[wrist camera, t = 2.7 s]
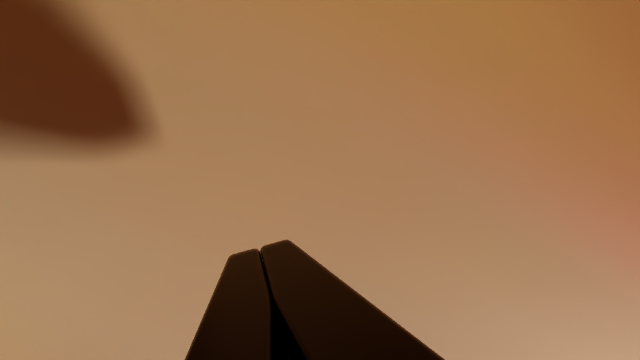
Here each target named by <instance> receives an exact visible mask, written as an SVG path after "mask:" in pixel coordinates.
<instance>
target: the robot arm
mask: <svg viewBox="0 0 640 360" xmlns="http://www.w3.org/2000/svg"><path fill="white" fill-rule="evenodd" d="M260 252H261V254H260ZM261 256H262V257H261ZM262 260H263V261H262ZM263 264H264V265H263ZM286 350H287V351H286ZM185 360H444V359H443V358H442V357H441V356H439V355H438V354H437V353H435V352H434V351H433V350H431V349H430V348H429V347H428V346H426V345H425V344H424V343H422V342H421V341H420V340H418V339H417V338H416V337H415V336H413V335H412V334H411V333H409V332H408V331H407V330H405V329H404V328H403V327H402V326H400V325H399V324H398V323H396V322H395V321H394V320H392V319H391V318H390V317H389V316H387V315H386V314H385V313H383V312H382V311H381V310H379V309H378V308H377V307H376V306H374V305H373V304H372V303H370V302H369V301H368V300H366V299H365V298H364V297H363V296H361V295H360V294H359V293H357V292H356V291H355V290H353V289H352V288H351V287H350V286H348V285H347V284H346V283H344V282H343V281H342V280H340V279H339V278H338V277H337V276H335V275H334V274H333V273H331V272H330V271H329V270H327V269H326V268H325V267H324V266H322V265H321V264H320V263H318V262H317V261H316V260H314V259H313V258H312V257H311V256H309V255H308V254H307V253H305V252H304V251H303V250H301V249H300V248H299V247H298V246H296V245H295V244H294V243H292V242H291V241H289V240H283V241H279V242H276V243H272V244H269V245H265V246H263V247H262V248H261V250H260V251H259V250H258V249H251V250H247V251H244V252H240V253H236V254H233V255H231V256H230V257H229V258H228V260H227V262H226V265H225V267H224V269H223V272H222V274H221V276H220V279H219V281H218V283H217V286H216V288H215V290H214V293H213V295H212V297H211V300H210V302H209V304H208V307H207V309H206V311H205V314H204V316H203V318H202V321H201V323H200V325H199V328H198V330H197V332H196V335H195V337H194V339H193V342H192V344H191V346H190V349H189V351H188V353H187V356H186V358H185Z"/></svg>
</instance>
